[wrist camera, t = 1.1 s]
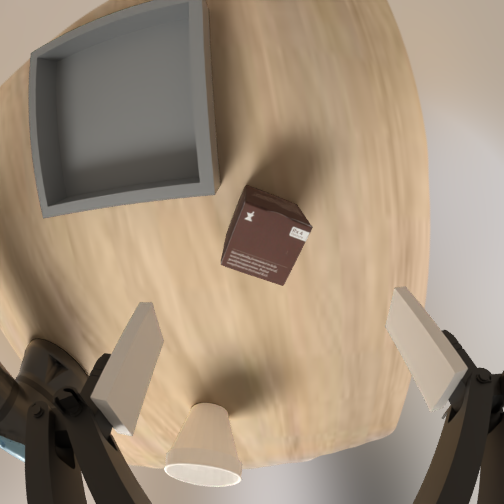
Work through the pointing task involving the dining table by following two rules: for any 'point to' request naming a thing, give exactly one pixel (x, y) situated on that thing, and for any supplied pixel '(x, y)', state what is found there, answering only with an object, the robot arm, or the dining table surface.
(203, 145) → the bin
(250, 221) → the box
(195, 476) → the cup
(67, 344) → the dining table surface
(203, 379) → the dining table surface
